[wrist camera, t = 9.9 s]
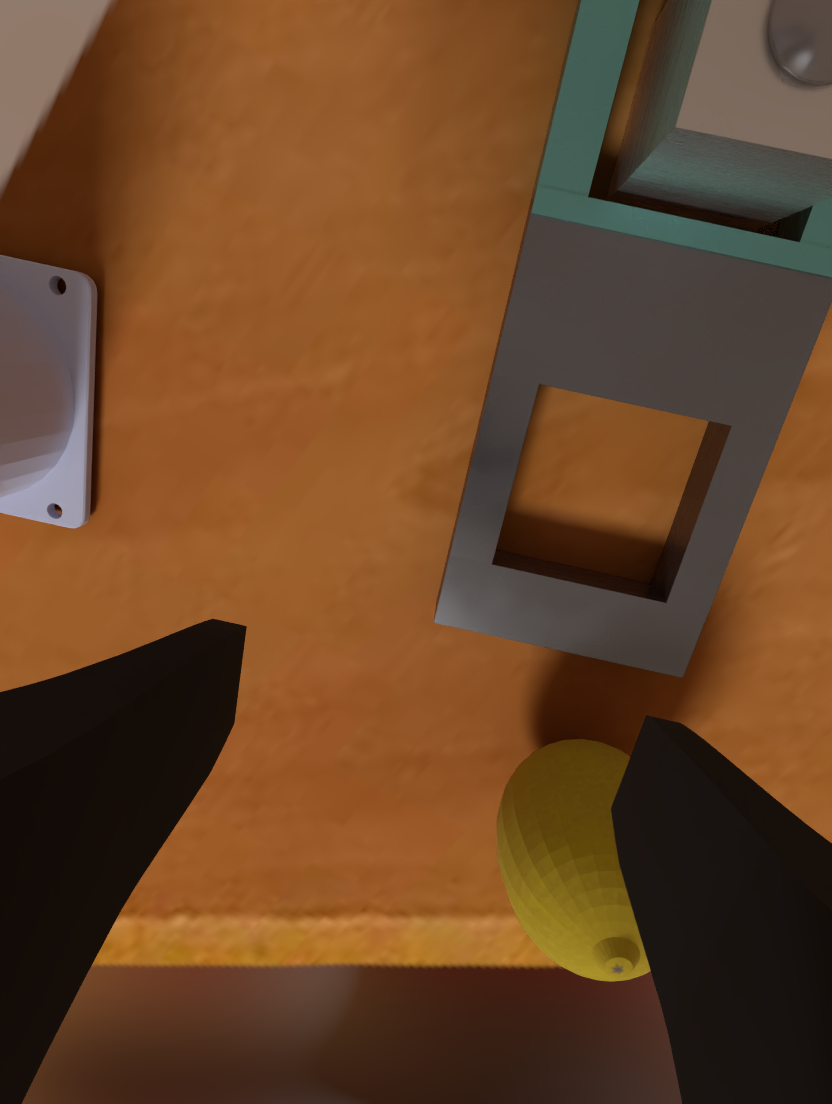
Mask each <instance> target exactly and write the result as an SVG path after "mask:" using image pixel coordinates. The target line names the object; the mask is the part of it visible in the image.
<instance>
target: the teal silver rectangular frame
mask: <svg viewBox="0 0 832 1104" xmlns="http://www.w3.org/2000/svg"><path fill="white" fill-rule="evenodd" d="M638 4H639V0H578V3H577V8H576V12H575V16H574V20H573V25H572V29H571V33H570V37H569V42H568V46H567V50H566V54H565V59H564V63H563V67H562V71H561V76H560V80H559V84H558V88H557V93H556V97H555V101H554V105H553V110H552V114H551V118H550V122H549V127H548V131H547V135H546V139H545V144H544V148H543V152H542V156H541V161H540V165H539V169H538V173H537V178H536V182H535V186H534V190H533V194H532V199H531V203H530V207H529V211H528V216H527V220H526V224H525V228H524V233H523V237H522V241H521V245H520V250H519V254H518V258H517V262H516V267H515V271H514V275H513V279H512V284H511V288H510V292H509V296H508V301H507V305H506V309H505V313H504V318H503V322H502V326H501V330H500V335H499V339H498V343H497V347H496V352H495V356H494V360H493V364H492V369H491V373H490V377H489V381H488V386H487V390H486V394H485V398H484V403H483V407H482V411H481V415H480V420H479V424H478V428H477V432H476V436H475V441H474V445H473V449H472V453H471V458H470V462H469V466H468V470H467V475H466V479H465V483H464V487H463V492H462V496H461V500H460V504H459V509H458V513H457V517H456V521H455V526H454V530H453V534H452V538H451V543H450V547H449V551H448V555H447V560H446V564H445V568H444V572H443V577H442V581H441V585H440V589H439V594H438V598H437V602H436V609H435V618H434V623H438V624H443V625H447V626H452V627H456V628H461V629H465V630H470V631H474V632H479V633H483V634H488V635H492V636H497V637H501V638H506V639H510V640H515V641H519V642H524V643H528V644H533V645H537V646H542V647H546V648H550V649H555V650H559V651H564V652H568V653H573V654H577V655H582V656H586V657H591V658H595V659H600V660H604V661H609V662H613V663H618V664H622V665H627V666H631V667H636V668H640V669H645V670H649V671H654V672H658V673H663V674H667V675H672V676H676V677H681V678H683V676H684V673H685V671H686V668H687V666H688V663H689V661H690V658H691V656H692V653H693V651H694V648H695V646H696V643H697V641H698V638H699V635H700V633H701V630H702V628H703V625H704V623H705V620H706V618H707V615H708V613H709V610H710V608H711V605H712V603H713V600H714V598H715V595H716V593H717V590H718V588H719V585H720V582H721V580H722V577H723V575H724V572H725V570H726V567H727V565H728V562H729V560H730V557H731V555H732V552H733V550H734V547H735V545H736V542H737V540H738V537H739V535H740V532H741V529H742V527H743V524H744V522H745V519H746V517H747V514H748V512H749V509H750V507H751V504H752V502H753V499H754V497H755V494H756V492H757V489H758V487H759V484H760V481H761V479H762V476H763V474H764V471H765V469H766V466H767V464H768V461H769V459H770V456H771V454H772V451H773V449H774V446H775V444H776V441H777V439H778V436H779V434H780V431H781V428H782V426H783V423H784V421H785V418H786V416H787V413H788V411H789V408H790V406H791V403H792V401H793V398H794V396H795V393H796V391H797V388H798V386H799V383H800V381H801V378H802V375H803V373H804V370H805V368H806V365H807V363H808V360H809V358H810V355H811V353H812V350H813V348H814V345H815V343H816V340H817V338H818V335H819V333H820V330H821V327H822V325H823V322H824V320H825V317H826V315H827V312H828V310H829V307H830V305H831V302H832V198H829V199H827V200H825V201H822V202H820V203H817V204H815V205H813V206H810V207H808V208H806V209H803V210H801V211H799V212H796V213H794V214H792V215H789V216H787V217H784V218H782V219H781V222H780V225H779V228H778V230H777V233H776V236H775V237H772V236H768V235H763V234H758V233H754V232H749V231H744V230H740V229H735V228H730V227H726V226H721V225H716V224H712V223H707V222H702V221H698V220H693V219H688V218H684V217H679V216H674V215H670V214H665V213H660V212H656V211H651V210H646V209H642V208H637V207H632V206H628V205H623V204H618V203H614V202H609V201H604V200H599V199H595V198H590V197H588V195H589V191H590V187H591V184H592V180H593V176H594V172H595V168H596V164H597V161H598V157H599V153H600V149H601V145H602V142H603V138H604V134H605V130H606V126H607V122H608V119H609V115H610V111H611V107H612V103H613V100H614V96H615V92H616V88H617V84H618V80H619V77H620V73H621V69H622V65H623V61H624V58H625V54H626V50H627V46H628V42H629V38H630V35H631V31H632V27H633V23H634V19H635V16H636V12H637V8H638ZM539 384H542V385H546V386H551V387H555V388H560V389H565V390H569V391H574V392H578V393H583V394H588V395H592V396H597V397H601V398H606V399H611V400H615V401H620V402H624V403H629V404H634V405H638V406H643V407H647V408H652V409H657V410H661V411H666V412H670V413H675V414H680V415H684V416H689V417H693V418H698V419H703V420H707V421H709V424H708V427H707V429H706V432H705V435H704V438H703V441H702V443H701V446H700V449H699V452H698V455H697V457H696V460H695V463H694V466H693V469H692V471H691V474H690V477H689V480H688V483H687V485H686V488H685V491H684V494H683V497H682V499H681V502H680V505H679V508H678V511H677V513H676V516H675V519H674V522H673V525H672V528H671V530H670V533H669V536H668V539H667V542H666V544H665V547H664V550H663V553H662V556H661V558H660V561H659V564H658V567H657V570H656V572H655V575H654V578H653V581H652V584H649V583H644V582H640V581H635V580H631V579H626V578H622V577H617V576H613V575H608V574H604V573H599V572H595V571H590V570H586V569H581V568H577V567H572V566H567V565H563V564H558V563H554V562H549V561H545V560H540V559H536V558H531V557H527V556H522V555H518V554H513V553H509V552H504V551H500V550H496V546H497V542H498V539H499V535H500V531H501V527H502V523H503V520H504V516H505V512H506V508H507V504H508V500H509V497H510V493H511V489H512V485H513V481H514V478H515V474H516V470H517V466H518V462H519V458H520V455H521V451H522V447H523V443H524V439H525V436H526V432H527V428H528V424H529V420H530V416H531V413H532V409H533V405H534V401H535V397H536V394H537V390H538V386H539Z"/></svg>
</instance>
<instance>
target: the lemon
mask: <svg viewBox="0 0 832 1104" xmlns="http://www.w3.org/2000/svg"><path fill="white" fill-rule="evenodd" d="M629 760H630V756H629V755H627V754H626V753H624V752H623V751H622V750H619V749H617V748H615V747H612V746H609V745H607V744H604V743H602V742H599V741H593V740H586V739H570V740H562V741H559V742H555V743H551V744H548V745H546V746H544V747H542V748H540V749H539V750H537V751H535V752H533V753H532V754H531V755H530V756H529V757H527V758H526V759H525V760H524V761H523V762H522V763H521V764H520V765H519V766H518V767H517V769H516V770H515V772H514V773H513V775H512V776H511V778H510V780H509V781H508V783H507V785H506V787H505V790H504V793H503V797H502V800H501V803H500V807H499V811H498V816H497V855H498V862H499V867H500V872H501V875H502V878H503V882H504V885H505V888H506V890H507V893H508V896H509V899H510V902H511V904H512V907H513V910H514V912H515V914H516V916H517V918H518V920H519V922H520V923H521V925H522V927H523V928H524V930H525V931H526V932H527V934H528V935H529V936H530V938H531V939H532V941H533V942H534V943H535V944H536V945H537V947H538V948H539V949H540V950H541V951H542V952H543V953H545V954H546V955H547V956H548V957H550V958H551V959H552V960H553V961H554V962H556V963H557V964H559V965H560V966H562V967H564V968H566V969H568V970H570V971H572V972H574V973H576V974H578V975H581V976H584V977H588V978H591V979H595V980H603V981H620V980H628V979H632V978H635V977H639V976H642V975H644V974H646V973H648V972H649V971H651V970H650V967H649V963H648V960H647V957H646V953H645V950H644V947H643V943H642V940H641V937H640V934H639V930H638V927H637V924H636V920H635V917H634V914H633V910H632V907H631V903H630V900H629V897H628V893H627V890H626V886H625V883H624V879H623V876H622V872H621V869H620V865H619V860H618V854H617V848H616V842H615V836H614V828H613V821H612V814H611V807H612V804H613V801H614V799H615V796H616V794H617V791H618V788H619V786H620V783H621V780H622V778H623V775H624V773H625V770H626V767H627V765H628V762H629Z"/></svg>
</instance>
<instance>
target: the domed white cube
mask: <svg viewBox="0 0 832 1104" xmlns="http://www.w3.org/2000/svg"><path fill="white" fill-rule="evenodd" d="M829 198H832V0H668V1H667V2H666V4H665V6H664V8H663V9H662V11H661V13H660V15H659V16H658V18H657V20H656V22H655V23H654V25H653V27H652V30H651V34H650V38H649V41H648V45H647V49H646V53H645V56H644V60H643V64H642V68H641V72H640V75H639V79H638V83H637V87H636V90H635V94H634V98H633V102H632V105H631V109H630V113H629V117H628V120H627V124H626V128H625V132H624V136H623V139H622V143H621V147H620V151H619V154H618V158H617V162H616V166H615V169H614V173H613V177H612V181H611V184H610V188H609V192H608V196H607V200H606V201H609V202H614V203H618V204H623V205H628V206H632V207H637V208H642V209H646V210H651V211H656V212H660V213H665V214H670V215H674V216H679V217H684V218H688V219H693V220H698V221H702V222H707V223H712V224H716V225H721V226H726V227H730V228H735V229H740V230H744V231H749V232H751V231H754V230H756V229H759V228H761V227H763V226H766V225H768V224H770V223H773V222H775V221H777V220H780V219H782V218H784V217H787V216H789V215H792V214H794V213H796V212H799V211H801V210H803V209H806V208H808V207H810V206H813V205H815V204H817V203H820V202H822V201H825V200H827V199H829Z"/></svg>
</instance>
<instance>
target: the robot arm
mask: <svg viewBox="0 0 832 1104" xmlns="http://www.w3.org/2000/svg"><path fill="white" fill-rule="evenodd" d="M61 278H62V279H63V280H64V281H65V283H66V291H65V293H64V294H61V293H60V292H59V290H58V286H57V284H58V280H60V279H61ZM96 321H97V288H96V285H95V283H94V281H93V280H92V279H91V278H90V277H89V276H88V275H86V274H84V273H82V272H78V271H73V270H68V269H64V268H59V267H55V266H50V265H45V264H41V263H36V262H32V261H27V260H22V259H18V258H13V257H9V256H4V255H0V513H4V514H9V515H13V516H18V517H22V518H27V519H31V520H36V521H40V522H45V523H49V524H54V525H58V526H63V527H67V528H77V527H80V526H82V525H84V524H86V523H87V522H88V520H89V518H90V505H91V474H92V443H93V413H94V382H95V351H96ZM55 504H57V505H59V506H60V507H61V509H62V515H60V514H58V513H57V512H56V510H55V507H54V506H55ZM246 627H247V626H243V625H239V624H234V623H230V622H225V621H221V620H216V619H211V620H208V621H204V622H201V623H199V624H196V625H193V626H191V627H188V628H186V629H183V630H181V631H178V632H176V633H173V634H171V635H169V636H166V637H164V638H161V639H159V640H156V641H154V642H151V643H149V644H146V645H144V646H141V647H139V648H136V649H134V650H131V651H129V652H126V653H123V654H121V655H118V656H115V657H112V658H110V659H107V660H104V661H101V662H98V663H95V664H92V665H90V666H87V667H84V668H81V669H78V670H75V671H72V672H70V673H67V674H64V675H60V676H57V677H54V678H51V679H47V680H44V681H41V682H37V683H34V684H30V685H26V686H23V687H19V688H15V689H11V690H7V691H3V692H0V1104H22V1102H23V1100H24V1098H25V1096H26V1093H27V1091H28V1089H29V1087H30V1085H31V1083H32V1081H33V1079H34V1077H35V1075H36V1073H37V1071H38V1069H39V1067H40V1065H41V1063H42V1061H43V1059H44V1057H45V1055H46V1053H47V1051H48V1049H49V1047H50V1045H51V1043H52V1041H53V1039H54V1037H55V1035H56V1033H57V1031H58V1029H59V1027H60V1025H61V1023H62V1021H63V1020H64V1017H65V1015H66V1014H67V1012H68V1010H69V1008H70V1006H71V1004H72V1002H73V1000H74V998H75V996H76V994H77V992H78V990H79V988H80V986H81V985H82V982H83V981H84V979H85V977H86V975H87V973H88V971H89V969H90V967H91V965H92V964H93V962H94V960H95V958H96V956H97V954H98V952H99V950H100V949H101V947H102V945H103V943H104V941H105V939H106V937H107V935H108V934H109V932H110V930H111V928H112V926H113V924H114V922H115V921H116V919H117V917H118V915H119V913H120V911H121V909H122V908H123V906H124V904H125V903H126V901H127V900H128V898H129V896H130V895H131V893H132V891H133V890H134V888H135V886H136V885H137V883H138V882H139V880H140V878H141V877H142V875H143V874H144V872H145V871H146V869H147V868H148V866H149V865H150V863H151V862H152V860H153V859H154V857H155V856H156V854H157V853H158V851H159V850H160V848H161V847H162V845H163V844H164V842H165V841H166V839H167V838H168V836H169V835H170V833H171V832H172V830H173V829H174V827H175V826H176V824H177V823H178V821H179V820H180V818H181V817H182V815H183V814H184V812H185V811H186V809H187V808H188V806H189V805H190V803H191V802H192V800H193V799H194V797H195V795H196V794H197V792H198V791H199V789H200V788H201V786H202V785H203V783H204V782H205V780H206V779H207V777H208V775H209V774H210V772H211V770H212V768H213V766H214V764H215V762H216V760H217V758H218V756H219V754H220V752H221V750H222V748H223V746H224V744H225V742H226V740H227V738H228V736H229V734H230V731H231V729H232V727H233V725H234V721H235V713H236V705H237V698H238V690H239V682H240V674H241V666H242V658H243V650H244V642H245V635H246ZM611 814H612V821H613V828H614V836H615V842H616V848H617V854H618V860H619V865H620V869H621V872H622V876H623V879H624V883H625V886H626V890H627V893H628V897H629V900H630V903H631V907H632V910H633V914H634V917H635V920H636V924H637V927H638V930H639V934H640V937H641V940H642V943H643V947H644V950H645V953H646V957H647V960H648V963H649V967H650V970H651V973H652V977H653V980H654V983H655V987H656V990H657V993H658V996H659V1000H660V1003H661V1007H662V1011H663V1015H664V1018H665V1023H666V1026H667V1030H668V1034H669V1039H670V1044H671V1049H672V1054H673V1059H674V1064H675V1069H676V1074H677V1078H678V1083H679V1088H680V1093H681V1099H682V1104H832V843H830V842H829V841H828V840H826V839H825V838H824V837H822V836H821V835H820V834H818V833H817V832H816V831H815V830H813V829H812V828H811V827H809V826H808V825H807V824H806V823H804V822H803V821H802V820H801V819H799V818H798V817H797V816H796V815H794V814H793V813H792V812H791V811H789V810H788V809H787V808H786V807H784V806H783V805H782V804H781V803H780V802H778V801H777V800H776V799H775V798H773V797H772V796H771V795H770V794H769V793H767V792H766V791H765V790H764V789H763V788H761V787H760V786H759V785H758V784H757V783H755V782H754V781H753V780H752V779H751V778H749V777H748V776H747V775H746V774H745V773H744V772H742V771H741V770H740V769H739V768H738V767H736V766H735V765H734V764H733V763H732V762H730V761H729V760H728V759H727V758H726V757H724V756H723V755H722V754H721V753H720V752H718V751H717V750H716V749H715V748H714V747H712V746H711V745H710V744H709V743H707V742H706V741H705V740H704V739H702V738H701V737H700V736H698V735H697V734H696V733H694V732H693V731H692V730H690V729H689V728H687V727H686V726H684V725H683V724H681V723H678V722H673V721H669V720H664V719H660V718H655V717H651V716H646V718H645V720H644V723H643V726H642V728H641V731H640V733H639V736H638V739H637V741H636V744H635V746H634V749H633V752H632V754H631V757H630V760H629V762H628V765H627V767H626V770H625V773H624V775H623V778H622V780H621V783H620V786H619V788H618V791H617V794H616V796H615V799H614V801H613V804H612V807H611Z"/></svg>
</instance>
